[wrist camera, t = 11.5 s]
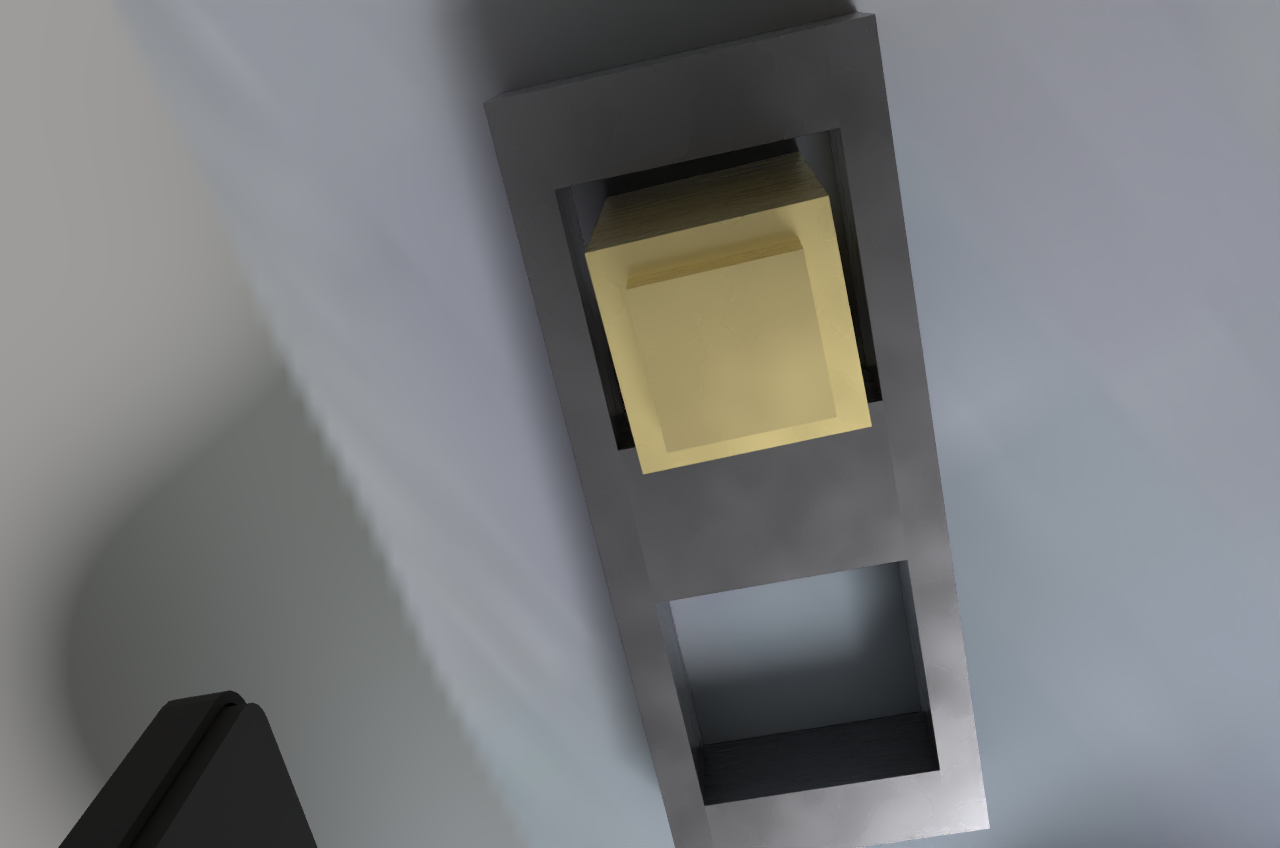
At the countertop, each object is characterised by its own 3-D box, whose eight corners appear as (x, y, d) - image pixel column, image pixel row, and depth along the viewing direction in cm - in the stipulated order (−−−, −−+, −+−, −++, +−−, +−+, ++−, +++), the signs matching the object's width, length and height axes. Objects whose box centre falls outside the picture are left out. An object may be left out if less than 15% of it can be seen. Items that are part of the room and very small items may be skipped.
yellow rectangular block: (606, 197, 27) (580, 263, 20) (798, 151, 26) (833, 203, 20) (652, 377, 28) (641, 491, 22) (834, 337, 28) (878, 441, 21)
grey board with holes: (502, 92, 26) (483, 103, 23) (858, 11, 25) (875, 14, 23) (682, 809, 33) (682, 872, 30) (967, 766, 32) (989, 828, 29)
